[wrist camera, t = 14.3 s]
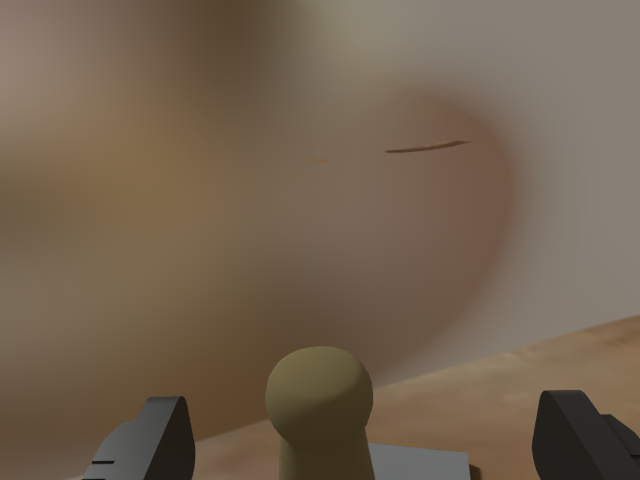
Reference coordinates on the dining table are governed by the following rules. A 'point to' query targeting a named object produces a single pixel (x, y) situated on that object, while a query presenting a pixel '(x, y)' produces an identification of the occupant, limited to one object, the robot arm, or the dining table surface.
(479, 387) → the dining table surface
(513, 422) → the dining table surface
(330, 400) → the cork
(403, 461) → the slate tile
